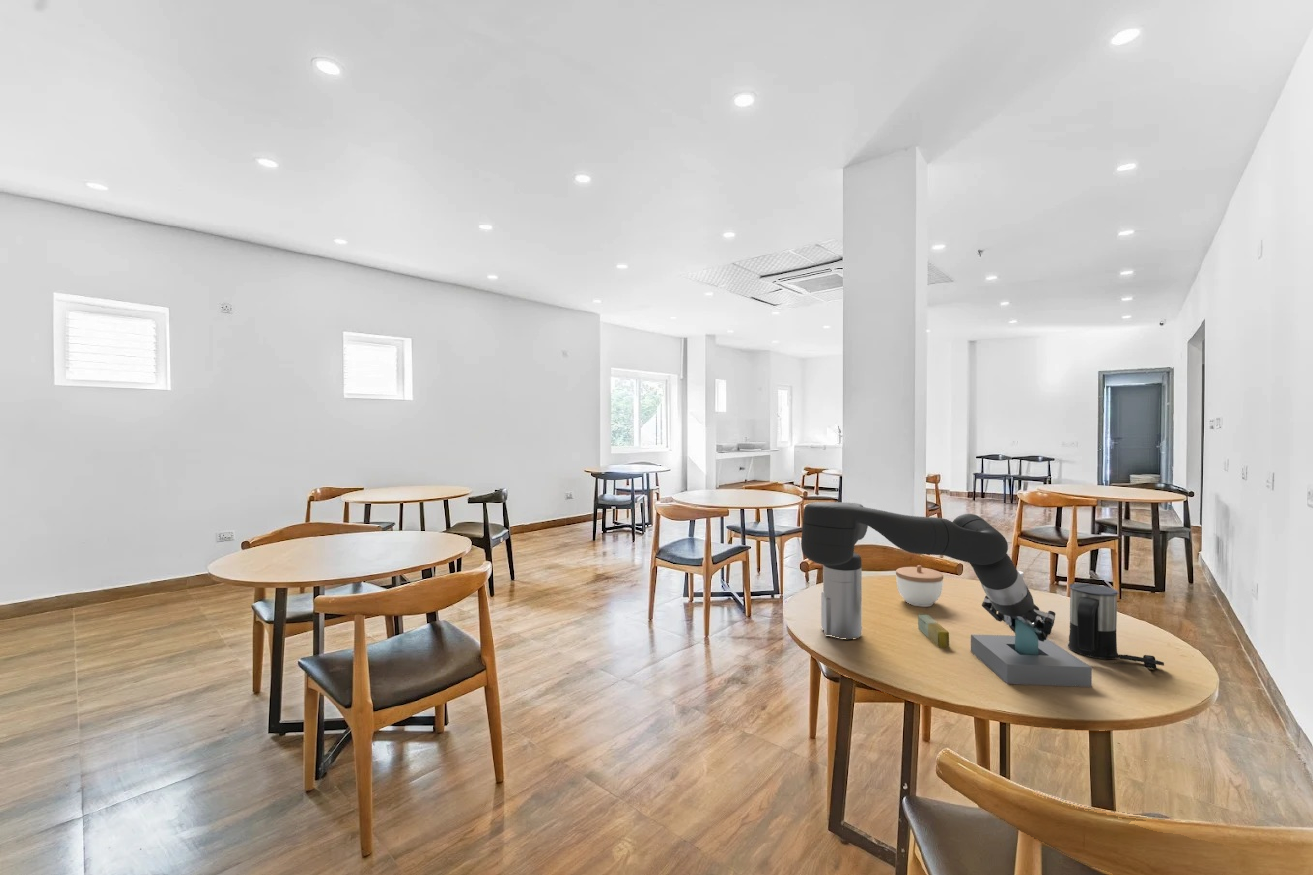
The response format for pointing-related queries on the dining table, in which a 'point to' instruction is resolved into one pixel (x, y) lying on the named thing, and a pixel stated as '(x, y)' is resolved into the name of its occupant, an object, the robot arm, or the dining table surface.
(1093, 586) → the milk frother
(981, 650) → the socket block
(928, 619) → the medication box
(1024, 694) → the dining table surface
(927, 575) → the lidded bowl
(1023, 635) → the peg
